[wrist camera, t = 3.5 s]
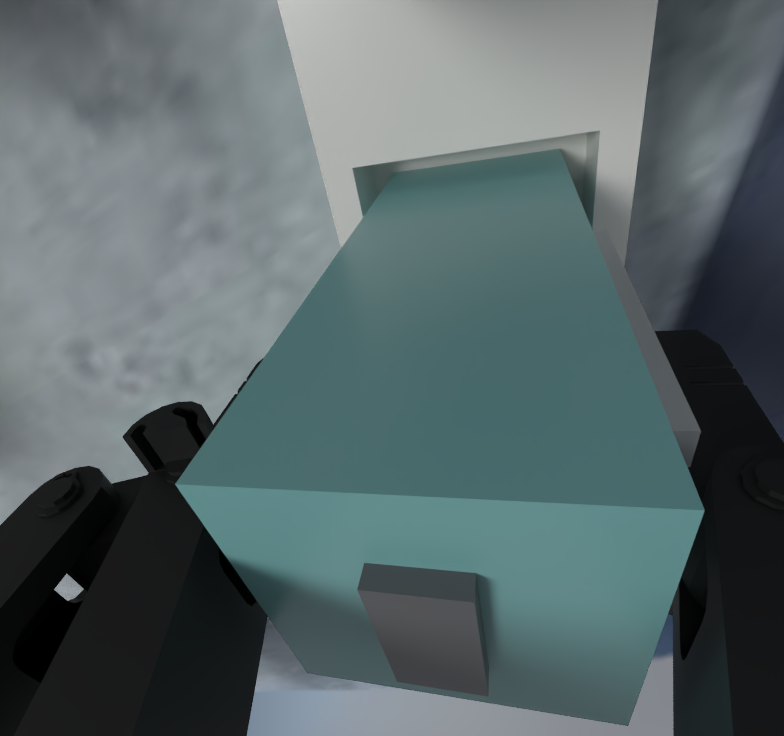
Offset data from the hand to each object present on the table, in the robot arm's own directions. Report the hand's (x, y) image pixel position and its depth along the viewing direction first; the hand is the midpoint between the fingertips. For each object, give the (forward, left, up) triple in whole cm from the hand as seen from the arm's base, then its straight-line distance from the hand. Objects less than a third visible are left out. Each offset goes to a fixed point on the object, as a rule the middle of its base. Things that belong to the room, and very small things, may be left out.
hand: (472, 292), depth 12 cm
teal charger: (0, 0, -4) cm, 4 cm away
